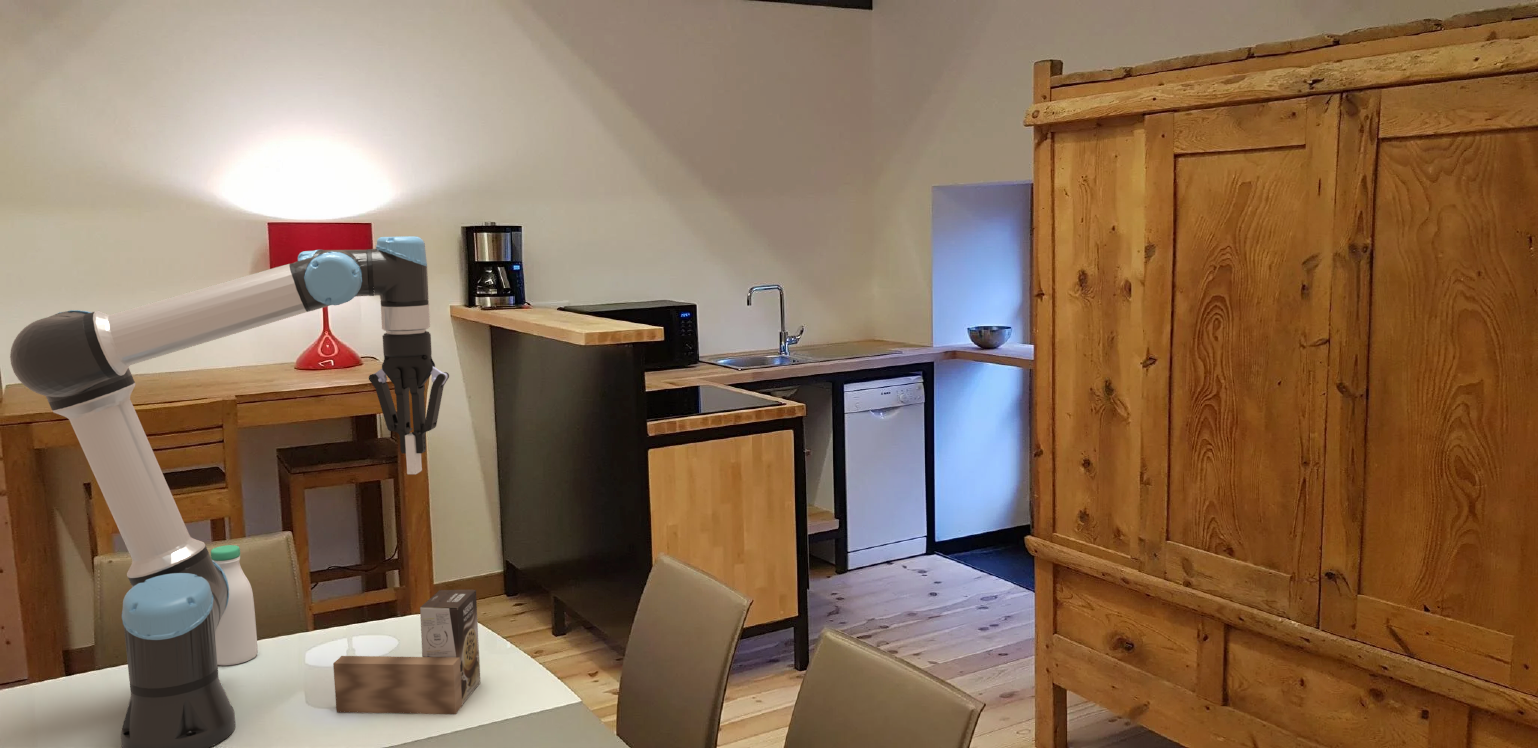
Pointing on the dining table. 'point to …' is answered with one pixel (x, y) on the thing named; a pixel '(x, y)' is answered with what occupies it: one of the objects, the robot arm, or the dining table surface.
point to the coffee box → (453, 633)
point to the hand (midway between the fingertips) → (414, 472)
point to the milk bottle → (235, 611)
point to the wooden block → (398, 684)
